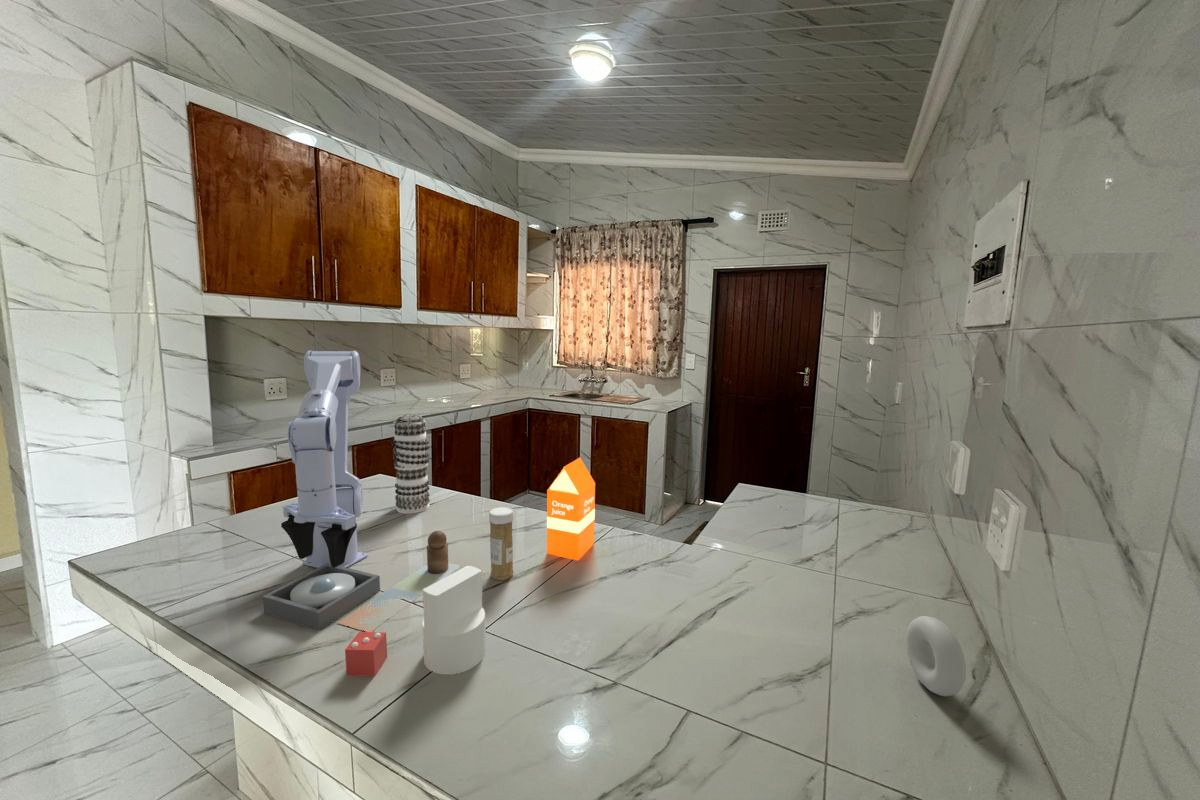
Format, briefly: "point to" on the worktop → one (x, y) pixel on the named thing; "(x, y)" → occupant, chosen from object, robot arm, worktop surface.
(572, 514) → the orange juice
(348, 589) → the dome
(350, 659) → the red die
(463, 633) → the cylinder with rectangular tab
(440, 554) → the walnut pawn
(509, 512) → the sprinkles bottle
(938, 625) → the donut
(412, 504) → the decorative candle
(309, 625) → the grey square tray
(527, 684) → the worktop surface
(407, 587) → the strip
